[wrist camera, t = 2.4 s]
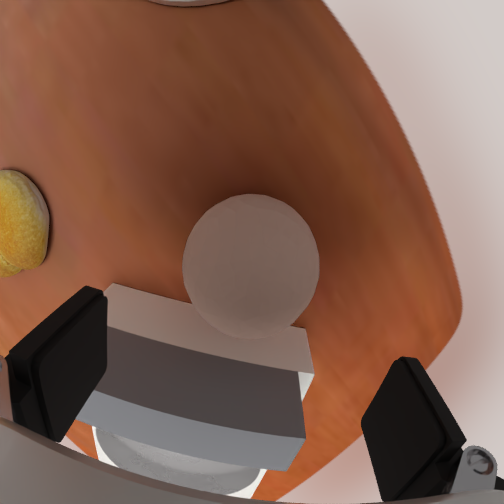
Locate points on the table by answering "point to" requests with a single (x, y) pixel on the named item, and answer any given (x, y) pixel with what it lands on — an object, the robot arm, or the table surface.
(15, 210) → the bread roll
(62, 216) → the table surface
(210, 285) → the egg
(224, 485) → the scale pan
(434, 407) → the robot arm
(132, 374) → the kitchen scale
